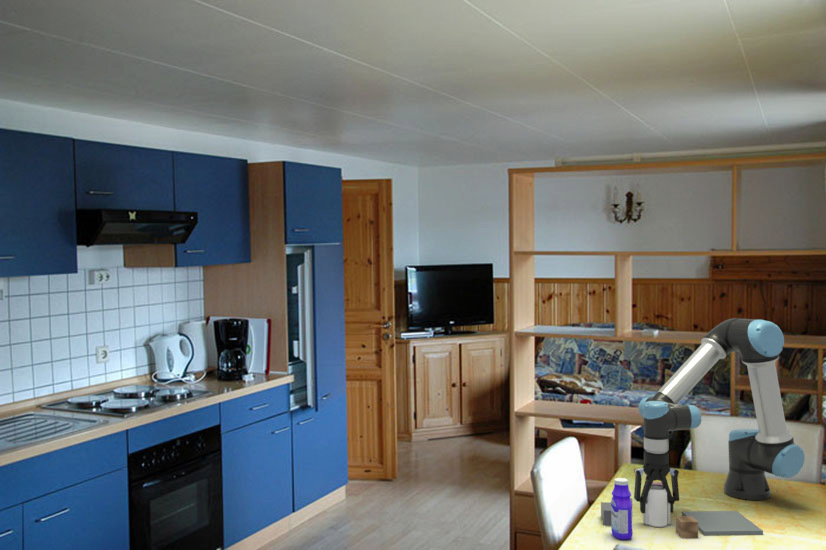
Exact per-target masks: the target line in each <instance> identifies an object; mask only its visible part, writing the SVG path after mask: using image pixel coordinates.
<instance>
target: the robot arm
mask: <svg viewBox="0 0 826 550" xmlns="http://www.w3.org/2000/svg"><path fill="white" fill-rule="evenodd" d="M784 345H785V336H784V334H783V332H782V329H780V327H779V326H778V325H777V324H775V323H774V322H772V321H769V320H764V319H760V318H759V319H755V318H754V319H752V318H751V319H750V318H741V317H734V318H729V319H726V320H723V321H722V322H720V323H719V324H717V325H716V326H714V328H711V330H709V331H708V333H706V335H704V337H703V338H702V339H701V341H700V345H699V346H698V347H697V349H696V350H695V351H693V353H692V354H691V355H690V356H689V357H688V358H687V359H686V360H685V362H684V363H682V365H681V366H680V367H679V368H678V369H677V370H676V371H675V372H674V374H672V376H671V377H670V378H669V379H668V380H667V381H666V382H665V383H664V384H663V385H662V386H661V388H659V390H658V391H657V392H656V393H655V394H654V395H653V396H652V397H651V396H650V397H649V396H647V397H643V398H642V399H641V400H640V401H639V403H638V412H639V414H640V416H641V417H642V418H643V419H642V420H643V449H644V450H643V466H642V467H641V468H634V469H633V471H634V475H635V477H634V478H635V479H634V480H635V482H634V493H633V499H634V500H635V501H636V502H638V503H639V509H640V510H639V511H640V512H641V514H642V518H643V519H642V521H643V523H644V524H645V525H648V503H646V500H647V497H648V492H649V490H650V488H651V484H652V483H653V482H655V481H660V483H662V485H663V487H664V488H665V489H666V491H667V500H668V501H667V525H671V514H672V513H674V504H675V502H679V501H680V493H679V492H680V491H679V479H678V477H679V475H680V474H679V470H678V469H677V468H675V467H673V468H671V467H670V465H669V463H670V458H669V455H670V454H669V450H670V449H669V447H670V445H669V443H670V442H669V432H672V431H683V430H684V431H685V430H692V429H697V428H698V427H699V426H701V422H702V414H701V411H700V409H699V408H698V407H697V406H696V405H693V404H685V405H683V404H682V405H680V404H679V403H680V402H682V400H684V398H685V397H686V396H687V395H688V394H689V393H690V392H691V390H693V388H695V386H696V385H697V384H698V383H699V382H700V381H701V379H703V378H704V376H705V375H706V374H707V373H708V372H709V371H710V369H713V368H712V367H714V365H716V364H717V362H719V360H724V359H725V358H726V357H727V356H728V355H730V354H731V353H737V352H738V353H739V356H740V360H741V362H742V364H744V365H745V366H747V367H746V368H747V372H748V379H749V384H750V388H751V395H752V400H753V407H754V412H755V416H756V423H757V428H740V429H738V428H737V429H733V430H731V431H729V434H728V441H727V442H728V465H729V466H728V473H727V475H726V478H725V480H724V484H723V493H725V495H727V496H729V497H732V498H736V499H739V498H740V500H745V499H747V500H748V501H764V499H765V500H768V499H770V498H771V489H770V488H771V487H770V485H769V483H768V479H767V477H766V473H768V474H771V475H774V476H775V477H778V478H780V477H781V478H784V479H789V478H791V479H792V478H793V477H795V476H797V475H798V474H799V473H800V471H801V469H802V468H803V467H804V463H805V458H806V457H805V452H804V450H803V448H802V447H800V446H799V444H795V440H794V439H795V438H794V435H793V433H792V432H790V431H789V430H787V424H786V418H785V413H784V406H783V400H782V395H781V390H780V384H779V378H778V373H777V367H776V362H777V361H778V360H779V359H780V356H779V355H780V354H781V352H782V351H783V347H784ZM643 474H645V475H646V476H645V480H644V485H643V488H642V476H643ZM668 474H670V477H671V479H670V480H671V489H670V486H669V484H668V479H667V476H668ZM641 488H642V489H641ZM670 491H671V492H670ZM671 494H672V495H671ZM769 497H770V498H769ZM767 498H768V499H767Z"/></svg>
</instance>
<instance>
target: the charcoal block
mask: <svg viewBox="0 0 826 550" xmlns="http://www.w3.org/2000/svg"><path fill="white" fill-rule="evenodd" d="M600 519H601V521H603V522H602V524H603V526H604V525H605V526H606V527H611V502H602V501H601V502H600Z"/></svg>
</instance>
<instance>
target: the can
mask: <svg viewBox="0 0 826 550" xmlns="http://www.w3.org/2000/svg"><path fill="white" fill-rule="evenodd" d="M646 503H648V524H647V526H649V527H653V528H665V527H667V526H668V524H667V491H666V489H665V488H664V487H663V485H659V484H651V488H650V490H649V492H648V497H647V500H646Z"/></svg>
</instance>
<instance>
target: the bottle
mask: <svg viewBox="0 0 826 550" xmlns="http://www.w3.org/2000/svg"><path fill="white" fill-rule="evenodd" d="M613 482H614V486H613V489H612V491H611V494H612V495H611V496H612V497H611V501H610V503H611V526H610V527H611V534H612V535H613V536H614V537H615V538H617V539H619V540H630V539H631V538H632V537H633V534H634V533H633V501H632V502H631V499H630V496H632V493H631V491H630V490H629V480H628V479H627V478H624V477H617V478H614V481H613Z"/></svg>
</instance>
